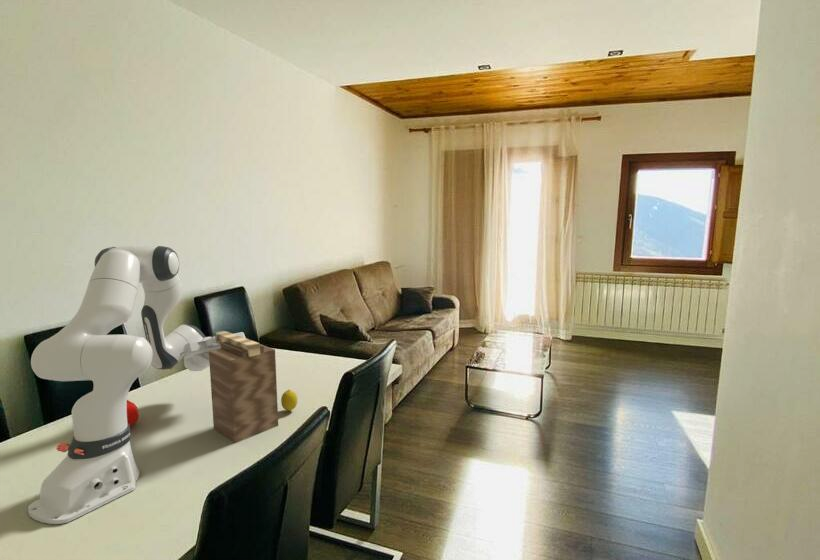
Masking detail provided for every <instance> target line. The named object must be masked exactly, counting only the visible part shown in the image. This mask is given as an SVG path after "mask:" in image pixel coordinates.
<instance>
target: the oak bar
mask: <svg viewBox="0 0 820 560" xmlns="http://www.w3.org/2000/svg"><path fill="white" fill-rule="evenodd" d="M212 334H213V335H212V337H215V336H218V339H219V341H218V342H216V343H217V344H219V345H220V343H222V342H227V343H229V344H232V345H234V346H237V347H240V348H242V349H245V350H247V356H249V357H251V356H255V355H259V354H260V342H257V341H255V340H252V339H249V338H247V337H245V338H243V337H241V336H238V335H235V333H232V332H229V331H226V330H218V331H214V332H212Z"/></svg>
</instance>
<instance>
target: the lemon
mask: <svg viewBox="0 0 820 560" xmlns="http://www.w3.org/2000/svg"><path fill="white" fill-rule="evenodd" d="M281 395H282V396H281V399H280V403H281V406H282V408H283V409H284V410H286V411H288V412H291V411H293V410H294V409H295V408H296V407H297V404H298V396H297V394H296V392H295V391H294V390H291V389H288V390H285V391H284V392H283V393H282V394H281Z"/></svg>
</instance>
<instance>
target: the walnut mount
mask: <svg viewBox="0 0 820 560" xmlns="http://www.w3.org/2000/svg"><path fill="white" fill-rule="evenodd" d="M220 345H221V349H217V350H213V351H209V363H210V365H209V374H210V375H209V376H210V391H211V404H212V405H211V407H212V409H211V410H212V421H213V422H212V423H213V429H214V430H215V431H216V432H218V433H220V434H221V435H222V436H224V437H225V438H227V439H228V440H230V441H231V442H232V443H233V444H236V443H238V442H241V441H244V440H245V439H249V438H251V437H253V436H257V435H259V434H261V433H263V432H266V431H268V430H270V429H273V428H276V427H277V426H279V415H278V412H279V411H278V388H277V369H276V368H277V367H276V366H277V362H276V349H275V348H272V347H270V346H269V347H268V345H264V344H260V354H259V355H255V356H251V357H249V356H247V350H245V349H242V348H240V347H237V346H234V345H232V344H229V343H227V342H222V343H220Z"/></svg>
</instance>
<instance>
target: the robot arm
mask: <svg viewBox="0 0 820 560" xmlns="http://www.w3.org/2000/svg"><path fill="white" fill-rule="evenodd" d="M179 270H180V259H179V256H178V254H177V252H176V251H175V250H174V249H172V248H171V247H168V246H163V245H159V246H155V245H154V246H151V245H149V246H148V245H125V246H118V247H117V246H111V247H106V248H103V249H102V250H100V251H99V252H98V253H97V255H96V256H95V259H94V268H93V271H92V273H91V276H90V277H89V281H88V284H87V288H86V289H85V293H84V296H83V298H82V302H81V304H80V306H79V309H78V310H77V312H76V313H75V315H73V318H71V320H70V321H69V322H68V323H67V324H66V325H65V326H64V327H63V328H61V329H60V330H59V331H58V332H57V333H55V334H54V335H52V336H50V337H49V338H47V339H44V340H42V341H40V343H39V344H38V345H37V346H36V347H35V348H34V350H33V352H32V353H31V357H30V358H31V359H30V367H31V369H32V371H33V372H34V374H35V376H37V377H38V378H40V379H43V380H48V381H55V382H75V381H76V382H77V381H92V383H93V388H92V391H90V392H88V393H86V394H85V395H82V396H81V397H80V398H79V399H77V400H76V402H75V403H74V405H73V406H72V408H71V420H72V429H73V437H72V439H71V442H70V444H69V443H65V442H63V441H62V442H59V443H58V444H57V446H56V448H55V449H56V451H57V452H62V453H67V455H66V456H65V457H64V458H63V459H62V461H60V463H59V464H58V465H57V466H56V467H55V468H54V469H53V470H52V471H51V473H50V474H48V476H46V477H45V479H44V480H43V481H42V483H41V484H40V485H41V486H40V491H39V498H38V499H36V500H34V501H33V502H31V503H30V504H29V505H28V510H27V512H28V513H27V514H28V515H29V517H32V518H31V519H33V520H34V521H35V520H36V521H37V522H40V523H44V524H49V525H61V524H66V523H70V522H72V521H73V520H75V519H78V518H79V517H82V516H84V515H86V514H88V513H90V512H92V511H94V510H97V509H98V508H101V507H102V506H104V505H106V504H109V503H110V502H112V501H115V500H116V499H118V498H120V497H122V496H124V495H126V494H129V493H131V492H133V491H134V490H135V489H136V488H137V486H136V482H137V480H138V479H139V478H140V474H141V473H140V469H139V468H138V465H137V464H136V461H135V458H134V454H133V451H132V446H131V439H132V434H131V426H130V425H129V424H128V423H127V400H128V394H129V391H130V390H131V389H130V388H131V387H132V385H133V383H134V382H135V381H136V380H137V379H138V378H139V377H140V376H141V375H143V374H144V373H145V372H146V371H147V370H148V369H149V367H150V365H152V366H153V367H154V368H155V369H157V370H163V371H164V370H166V371H167V370H172V369H173V368H174V367H175V366H176V365H177V364H178V363H179V362H180V361H181V360H182V359H183V365H184V367H185V368H186V369H187V370H188V371H191V372H201V371H203V370H205V369H207V368H208V367H210V363H209V351H213V350H217V349H221V345H219V344H217V343H216V342H218V341H219V339H218V336H215V337H213V336H206V335H205V334H204V333H203V332H202V331H201V329H200V328H198V327H197V326H196V325H192V324H186V323H183V324H180V325H179V326H178V327H176V328H175V329H174V330H172V331H171V332H169V334H167V335H166V336H165V333H164V324H165V323H164V322H165V320H166V318H167V317H168V316H169V315H170V313H171V312H172V310H173V309H175V307H176V306H177V305H178V304H179V303H180V300H182V296H183V292H184V291H183V290H184V289H183V288H184V287H183V284H182V283H183V282H182V281H181V278H180V274H179ZM140 284H141V286H142V288H143V292H144V302H143V306H142V308H141V311H140V315H141V321H142V322H141V323H142V326H143V327H142V328H143V331H144V332H143V333H144V336H145V337H143V336H137V335H131V334H109V333H110V332H111V331H112V330H114V329H116V328H117V327H119V326H121V325H123V324H125V323H126V322H128V320H129V319H131V317H132V313H133V310H134V306H135V302H136V298H137V295H138V290H139V286H140ZM234 334H235V335H238V336H241V337H243V338H246V336H245V333H244V332H243V331H240V332H235V333H234Z"/></svg>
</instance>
